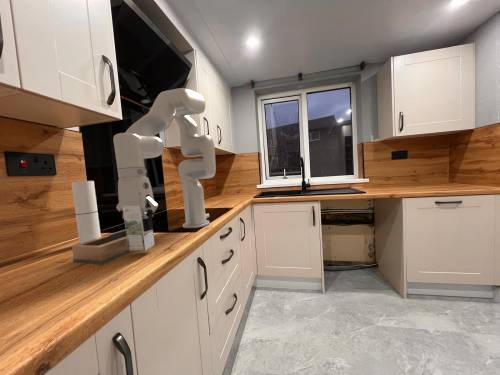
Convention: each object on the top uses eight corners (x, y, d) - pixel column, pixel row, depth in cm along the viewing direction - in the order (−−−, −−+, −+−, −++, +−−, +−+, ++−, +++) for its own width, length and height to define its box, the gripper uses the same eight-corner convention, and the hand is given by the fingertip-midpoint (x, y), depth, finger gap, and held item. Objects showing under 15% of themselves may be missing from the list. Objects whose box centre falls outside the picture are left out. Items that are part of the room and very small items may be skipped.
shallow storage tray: (127, 241, 88) (126, 229, 88) (153, 242, 84) (152, 229, 83) (73, 261, 69) (71, 246, 69) (103, 264, 65) (101, 247, 65)
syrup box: (155, 244, 74) (149, 201, 73) (145, 251, 68) (139, 204, 67) (139, 245, 74) (133, 202, 73) (127, 252, 69) (121, 205, 67)
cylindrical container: (75, 247, 85) (66, 182, 84) (85, 242, 92) (77, 182, 91) (96, 245, 87) (88, 181, 85) (104, 239, 94) (97, 180, 92)
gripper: (163, 171, 70) (169, 227, 71) (121, 175, 75) (128, 226, 77) (144, 172, 63) (152, 234, 64) (100, 176, 68) (108, 233, 70)
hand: (139, 229), depth 71 cm, fingers closed on syrup box, 6 cm apart
